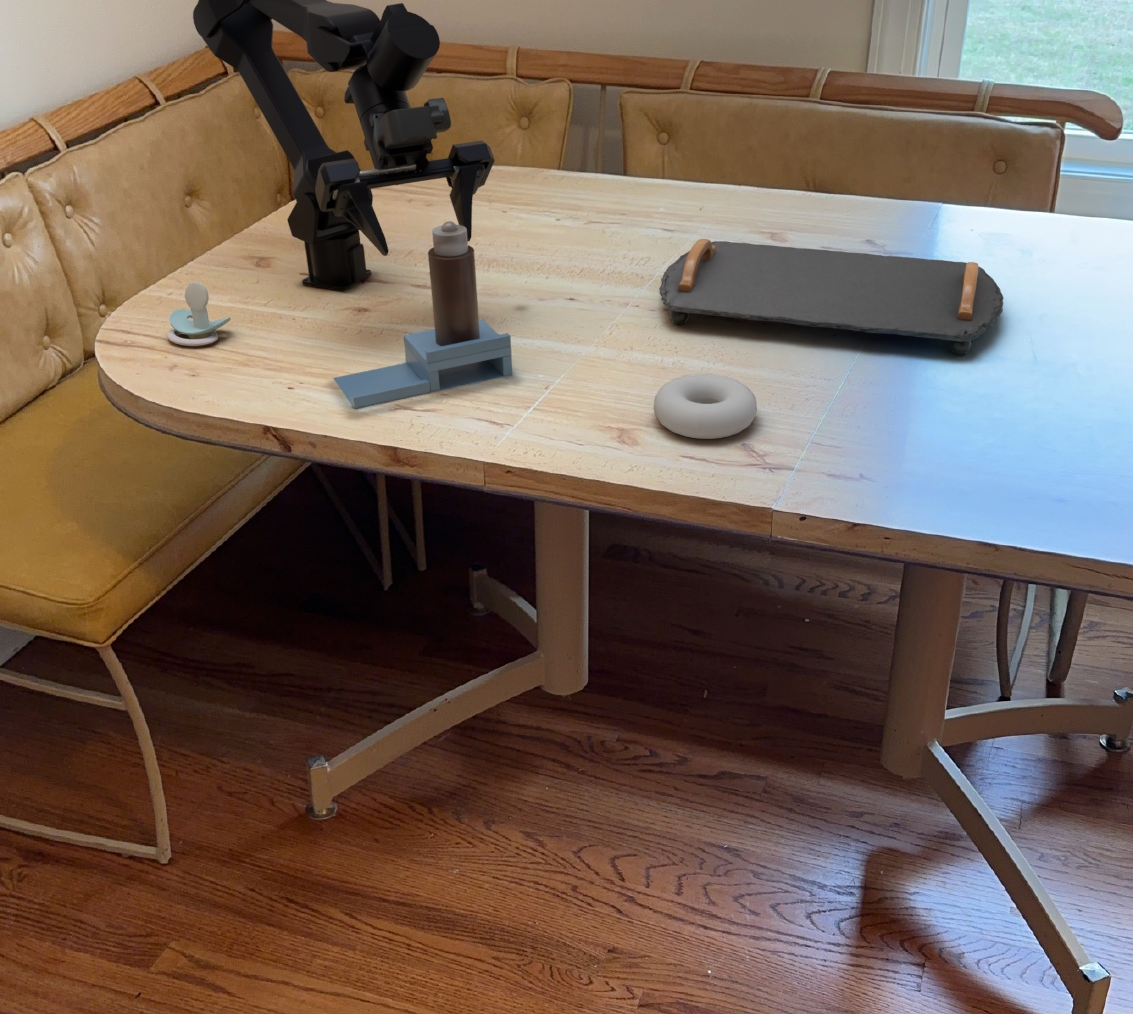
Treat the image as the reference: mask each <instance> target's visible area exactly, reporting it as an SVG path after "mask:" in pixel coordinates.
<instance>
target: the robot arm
mask: <svg viewBox="0 0 1133 1014" xmlns="http://www.w3.org/2000/svg"><path fill="white" fill-rule="evenodd" d="M192 20H193V24H194V27H195V31H196V32H197V34H198V35H199V36H200V37H201V39H202V41H204V43H205V44H206V46H207V47H208V48H209V50H210V52H211V53H212V54H213V55H214V57H216V58H217V59H219V60H221V61H222V62H224V63H226V64H227V65H229V66H231V67H232V68H233V69H235V70H236V71H237V72H238V73H239V75H240V76H241V78H242V80H243V82H244V83H245V85H246V87H247V89H248V91H249V92H250V94H251V96H252V98H253V99H254V102H255V103H256V105H257V106H258V109H259V110H260V112H261V113H262V115H263V117H264V119H265V120H266V123H267V125H268V126H269V127H270V129H271V131H272V133H273V134H274V136H275V138H276V140H277V141H278V143H279V145H280V147H281V149H282V151H283V152H284V154H285V156H286V157H287V159H288V161H289V163H290V165H291V166H292V168H293V172H294V174H293V190H292V191H293V192H292V193H293V197H294V199H295V202H296V203H295V205H294V206H293V208H292V209H291V211H290V213H289V215H288V217H287V224H288V227H289V230H290V234H291V236H292V237H293V238H295V239H298V240H300V241H302V242H303V243H304V251H305V257H306V263H307V270H308V276H307V277H305V278H303V279H302V280H301V284H302V285H303V286H308V287H309V286H310V287H316V288H322V289H327V290H328V289H329V290H333V291H340V292H345V291H348V290H350V289H351V288H353V287H354V286H355V285H357V284H359V283H360V282H362V281H363V280H366V279H367V278H368V277H370V276H371V275H372V270H371V269H367V263H366V255H365V247H364V244H363V243H361V234H360V232H361V233H362V234H363V235H364V236H365V237H366V238H367V239H368V241H369V242H370V243H371V244H372V245H373V246H374V247H375V248H376V250H377V251H378V252H379V254H381V255H382V256H383V257H386V256H388V255H389V247H388V243H387V240H386V236H385V234H384V231H383V229H382V226H381V224H380V222H379V219H378V216H377V214H376V211H375V209H374V207H373V201H374V195H373V191H372V190H374V189H379V188H386V187H393V186H399V185H405V184H413V183H420V182H426V181H432V180H438V179H446V182H447V185H448V187H449V188H451V189H450V192H449V199H450V201H451V205H452V208H453V211H454V213H455V214H454V215H455V217H456V220H457V225H461V226H464V227H466V229H467V241H468V243H469V242H471V239H472V235H473V234H472V232H473V230H472V225H473V197H474V195H475V194H476V193H477V191H478V189H480V188H482V187H483V186H485V184H486V182H487V180H488V177H489V175H490V173H491V171H492V168H493V166H494V163H495V157H494V154H493V151H492V148H491V146H490V145H489V144H488V143H486V142H485V141H483V140H476V141H469V142H462V143H453V144H452V146H451V148H450V151H449V154H448V156H447V158H439V159H433V160H429V159H428V156H427V155H430V154H432V152H433V149H434V145H433V142H432V141H433V140H436V139H438V133H445V132H447V131H448V130H449V129H450V128H451V127H452V120H451V116H450V110H449V107H448V105H447V103H446V100H445V97H438V98H430V99H428V100H426V102H424V103H423V106H415V107H411V104H410V101H409V98H408V94H407V92H408V91H411V90H413V89H414V88H415V87H416V86H417V85H418V83H419V82H420V80H421V79H422V77H423V76H424V74H425V72H426V71H427V69H428V67H429V66H430V64H431V63H432V62H433V59H435V56H436V55H437V53H438V51H439V49H440V46H441V41H440V35H439V33H438V31H437V29H436V27H435V26H434V25H433V24H430V23H429V21H427V20H426V19H425V17H423V16H421V15H419V14H417V13H414V12H411V11H408V9H407V8H406V6H405V5H404V3H403V2H399V3H393V4H388V5H387V4H386V6H385V8H384V9H383V12H382V14H381V18H379V16H378V15H377V13H376V12H374V11H373V10H372V9H369V8H367V7H363V6H359V5H357V4H352V3H341V2H340V3H338V2H332V1H329V0H197V3H196V5H195V6H194V8H193V11H192ZM273 21H275V22H276V23H278V24H280V25H282V26H283V27H284V28H286V29H288V30H289V31H290V32H292V33H294V34H295V35H297V36H298V37H300V38H301V39H303V41H305V43H306V53H307V54H308V55H309V56H310V57H311V58H312V59H313V60H314V61H315V62H316V63H317V64H319V65H320V67H322V69H324V70H325V71H327V72H329V73H336V72H341V71H345V70H350V69H355V70H354V71H353V73H352V75H351V77H350V78H349V80H348V81H347V88H346V89H345V92H344V98H343V99H344V100H343V101H344V103H345V104H347V105H348V104H349V105H350V104H352V105H353V104H354V107H355V111H356V114H357V118H358V120H359V123H360V127H361V130H362V133H363V136H364V140H363V144H364V147H365V150H366V152H369V155H370V158H371V162H372V165H373V167H374V168H371V169H365V170H361V168H360V166H359V163H358V161H357V160H356V158H355V156H354V155H353V154H352V153H351V152H350V151H349V150H347V149H346V150H341V151H338V152H337V151H335V150H334V149H331V148H330V147H329V145H328V144H327V142H326V140H325V138H324V137H323V135H322V133H321V132H320V130H319V128H318V126H317V124H316V122H315V120H314V119H313V117H312V116H311V114H310V112H309V110H308V109H307V106H306V105H305V103H304V101H303V99H302V98H301V96H300V95H299V93H298V91H297V89H296V88H295V86H294V84H293V81H292V80H291V79H290V77H289V75H288V73H287V72H286V70H285V68H284V67H283V64H282V63H281V61H280V59H279V58H278V55H277V54H276V53H275V51H274V48H273V36H274V23H273Z"/></svg>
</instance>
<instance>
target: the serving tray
mask: <svg viewBox="0 0 1133 1014" xmlns="http://www.w3.org/2000/svg"><path fill="white" fill-rule="evenodd" d="M660 283H661V284H660V286H659V295H660V296H661V301H662V304H663V306H664V307H665V308H666V309H667V310H668V311H670V312H669V319H670V320H671V322H672V324H673V325H674V326H679V327H680V326H684V325H685V324H686V322H687V321H688V320H689V314H696V315H705V316H714V317H723V318H732V319H740V320H749V321H762V322H774V323H784V324H791V325H796V326H801V327H802V326H804V327H811V328H827V329H835V330H847V331H853V332H854V331H855V332H862V333H863V332H864V333H866V334H882V335H883V334H886V335H899V336H905V337H908V336H909V337H915V338H925V339H932V340H933V339H934V340H942V341H950V343H949V347H950V350H951V351H952V352H951V353H952V354H953V355H954V356H957V357H965V356H966V355H967V353H968V352H969V351H970V350H971V347H972V341H973V340H976V339H977V338H979V337H980V336H982V335H983V334H984V333H985V332H987V331H988V330H989V329H991V328H992V327H993V325H995V324H996V323H997V320H998V318H999V317H1001V315H1002V314H1003V312H1004V311H1003V310H1004V309H1003V308H1004V295H1003V294H1002V292H1001V287H999V285H998V284H997V282H996V281H995V280H994V278H993V277H991V276H990V275H989V273H987V272H986V270H985V269H984V268H982V267H981V266H979V263H977V262H976V261H975V262H974V261H968V262H964V261H952V260H945V259H944V260H943V259H928V258H918V257H908V256H897V255H896V256H895V255H883V254H874V253H873V254H872V253H865V252H851V251H841V250H829V249H817V248H807V247H806V248H803V247H793V246H782V245H781V246H780V245H773V244H756V243H749V242H733V241H728V240H727V241H726V240H725V241H723V240H718V241H717V240H716V241H715V240H714V241H711V240H710V239H708V238H700V239H698V240H696V241H695V243H693V245H692V247H691V248H690V250H689V251H687V252H686V253H684V254H682V255H680V256H679V257H678V259H676V260H675V261H674V262H673V263H671V264H670V265H668V267H667V268H666V270H664V272H663V275H662V277H661V279H660Z"/></svg>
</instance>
